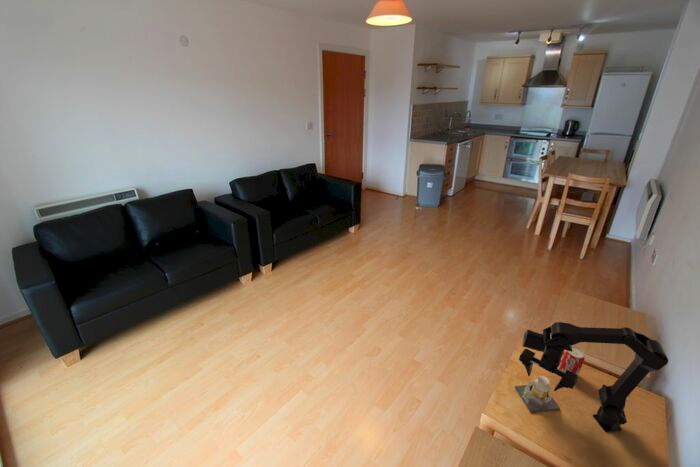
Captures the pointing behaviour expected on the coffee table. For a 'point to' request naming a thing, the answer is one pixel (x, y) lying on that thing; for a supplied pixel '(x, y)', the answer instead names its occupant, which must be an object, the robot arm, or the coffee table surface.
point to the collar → (536, 399)
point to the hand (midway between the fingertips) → (541, 382)
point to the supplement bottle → (541, 387)
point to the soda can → (572, 360)
